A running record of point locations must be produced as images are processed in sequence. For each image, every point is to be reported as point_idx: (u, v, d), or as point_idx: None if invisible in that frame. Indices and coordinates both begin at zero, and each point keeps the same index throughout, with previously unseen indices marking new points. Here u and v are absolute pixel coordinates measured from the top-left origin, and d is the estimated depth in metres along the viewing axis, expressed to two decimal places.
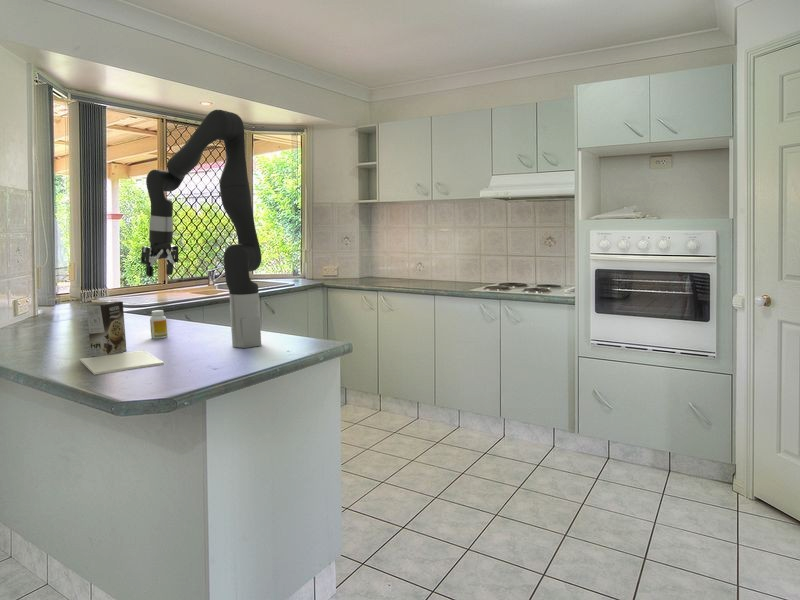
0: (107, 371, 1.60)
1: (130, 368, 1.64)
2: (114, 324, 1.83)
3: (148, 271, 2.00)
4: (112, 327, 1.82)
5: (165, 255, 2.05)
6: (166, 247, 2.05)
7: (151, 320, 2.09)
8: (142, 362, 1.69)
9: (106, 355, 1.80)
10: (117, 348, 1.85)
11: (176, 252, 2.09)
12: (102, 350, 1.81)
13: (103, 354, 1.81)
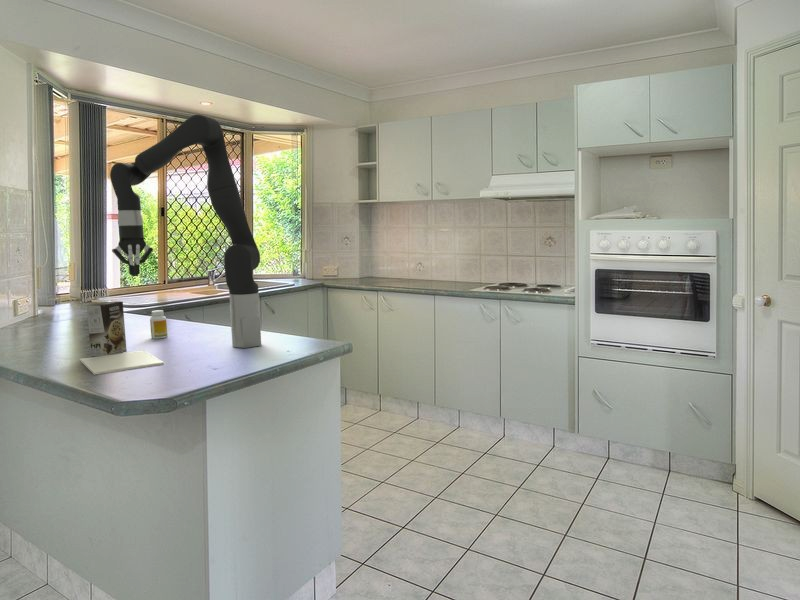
0: (107, 371, 1.60)
1: (130, 368, 1.64)
2: (114, 324, 1.83)
3: (129, 270, 1.98)
4: (112, 327, 1.82)
5: (133, 250, 1.97)
6: (137, 243, 1.98)
7: (151, 320, 2.09)
8: (142, 362, 1.69)
9: (106, 355, 1.80)
10: (117, 349, 1.85)
11: (147, 253, 2.00)
12: (102, 350, 1.81)
13: (103, 354, 1.81)
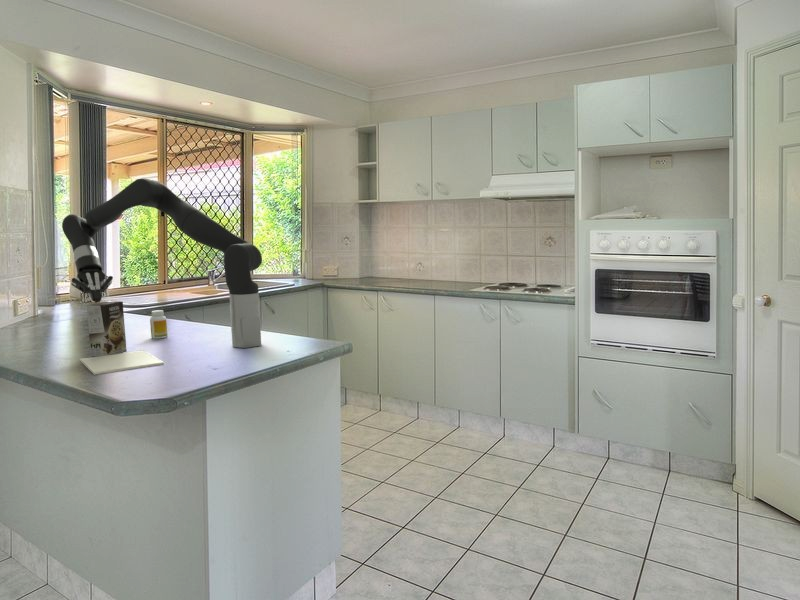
0: (107, 371, 1.60)
1: (130, 368, 1.64)
2: (114, 324, 1.83)
3: (91, 295, 1.92)
4: (112, 327, 1.82)
5: (92, 278, 1.96)
6: None
7: (151, 320, 2.09)
8: (142, 362, 1.69)
9: (106, 355, 1.80)
10: (117, 348, 1.85)
11: (107, 280, 1.98)
12: (102, 350, 1.81)
13: (103, 354, 1.81)
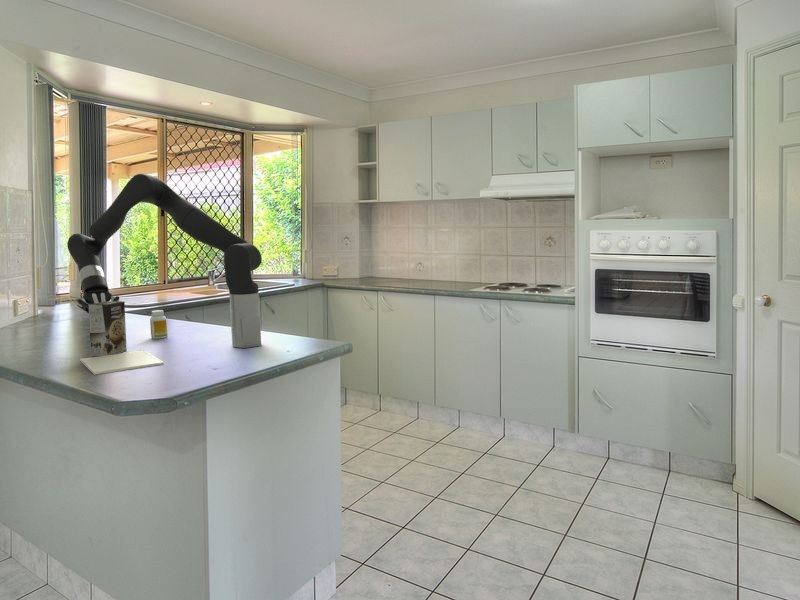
0: (107, 371, 1.60)
1: (130, 368, 1.64)
2: (115, 324, 1.83)
3: None
4: (113, 327, 1.82)
5: (99, 299, 1.92)
6: None
7: (151, 320, 2.09)
8: (142, 362, 1.69)
9: (106, 355, 1.80)
10: (118, 348, 1.85)
11: (114, 300, 1.94)
12: (102, 350, 1.80)
13: (103, 354, 1.81)
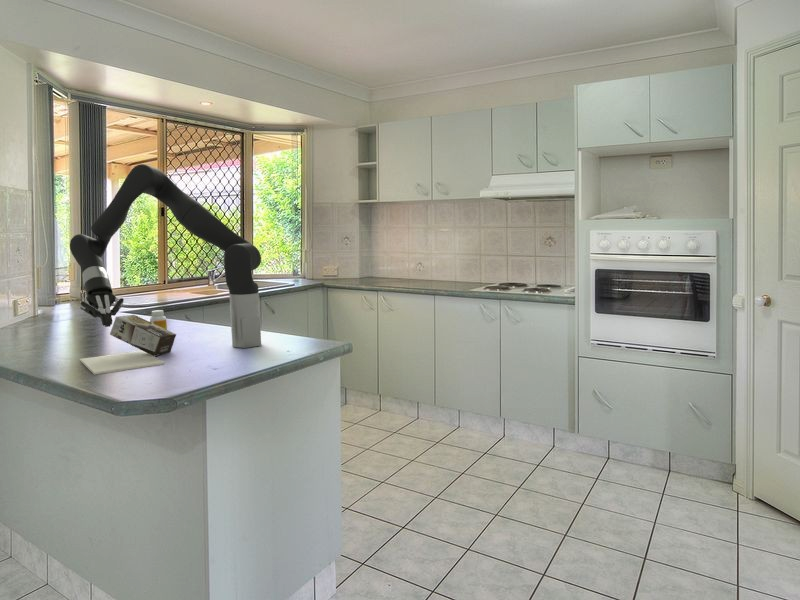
0: (107, 371, 1.60)
1: (130, 368, 1.64)
2: None
3: (101, 319, 1.83)
4: None
5: (102, 301, 1.87)
6: None
7: (151, 320, 2.09)
8: (142, 362, 1.69)
9: (106, 355, 1.80)
10: None
11: (118, 303, 1.88)
12: (116, 332, 1.79)
13: (112, 331, 1.79)
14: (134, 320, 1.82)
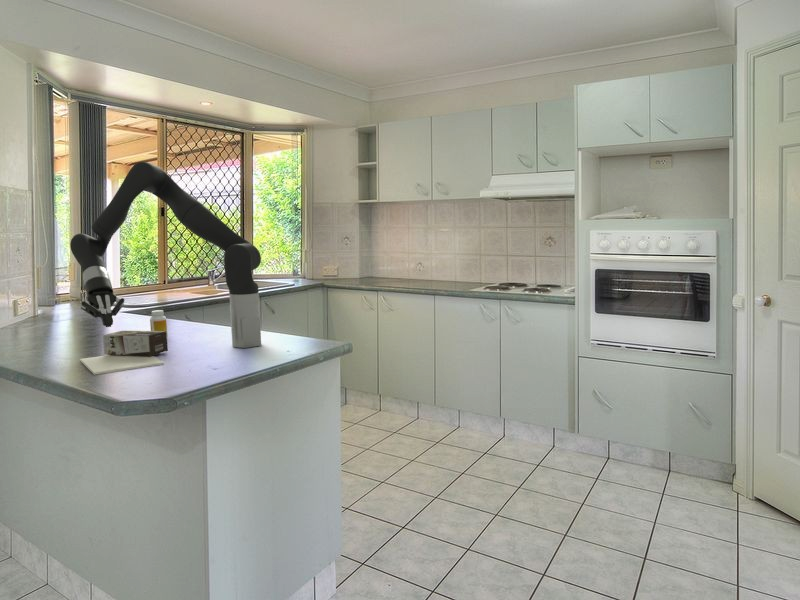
0: (107, 371, 1.60)
1: (130, 368, 1.64)
2: None
3: (102, 320, 1.81)
4: None
5: (103, 301, 1.85)
6: None
7: (151, 320, 2.09)
8: (142, 362, 1.69)
9: (106, 355, 1.80)
10: None
11: (119, 303, 1.87)
12: (108, 349, 1.79)
13: (105, 350, 1.79)
14: (121, 332, 1.82)
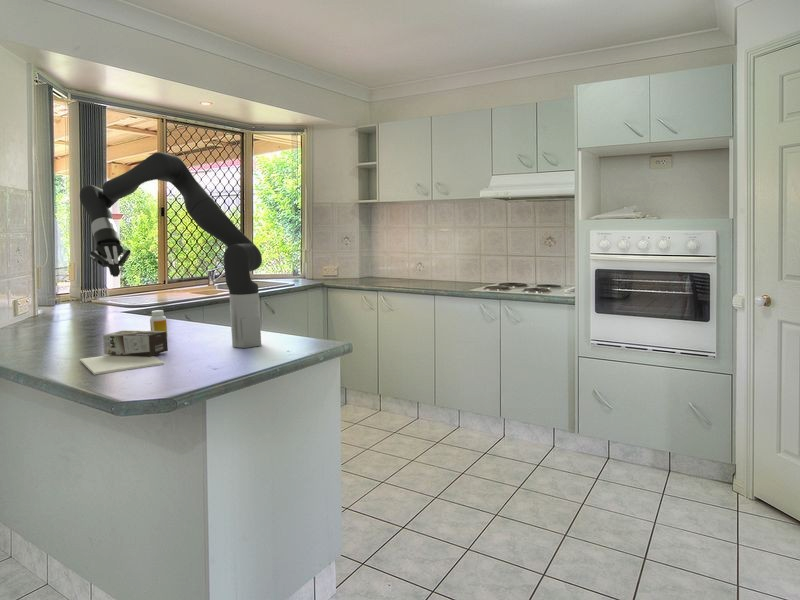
0: (107, 371, 1.60)
1: (130, 368, 1.64)
2: None
3: (110, 270, 1.94)
4: None
5: (111, 252, 1.97)
6: None
7: (151, 320, 2.09)
8: (142, 362, 1.69)
9: (106, 355, 1.80)
10: None
11: (125, 254, 1.99)
12: (109, 349, 1.79)
13: (105, 350, 1.79)
14: (121, 332, 1.82)
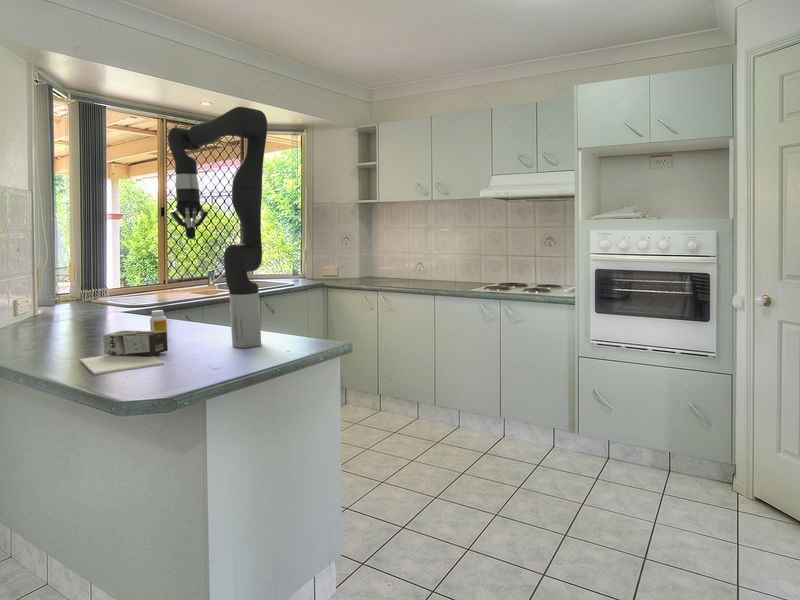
0: (107, 371, 1.60)
1: (130, 368, 1.64)
2: None
3: (186, 233, 2.03)
4: None
5: (190, 213, 2.03)
6: (194, 206, 2.03)
7: (151, 320, 2.09)
8: (142, 362, 1.69)
9: (106, 355, 1.80)
10: None
11: (202, 216, 2.05)
12: (109, 349, 1.79)
13: (105, 350, 1.79)
14: (121, 332, 1.82)
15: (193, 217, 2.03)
